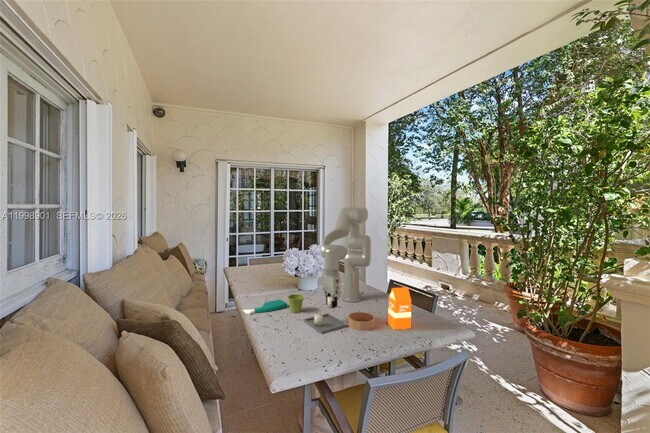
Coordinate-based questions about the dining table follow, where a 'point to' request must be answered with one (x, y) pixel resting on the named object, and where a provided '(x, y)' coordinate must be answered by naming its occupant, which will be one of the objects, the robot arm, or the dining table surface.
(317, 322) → the pebble
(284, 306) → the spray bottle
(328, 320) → the parts tray
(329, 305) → the pebble
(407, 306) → the orange juice
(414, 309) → the dining table surface
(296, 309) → the plant pot
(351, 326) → the bowl
